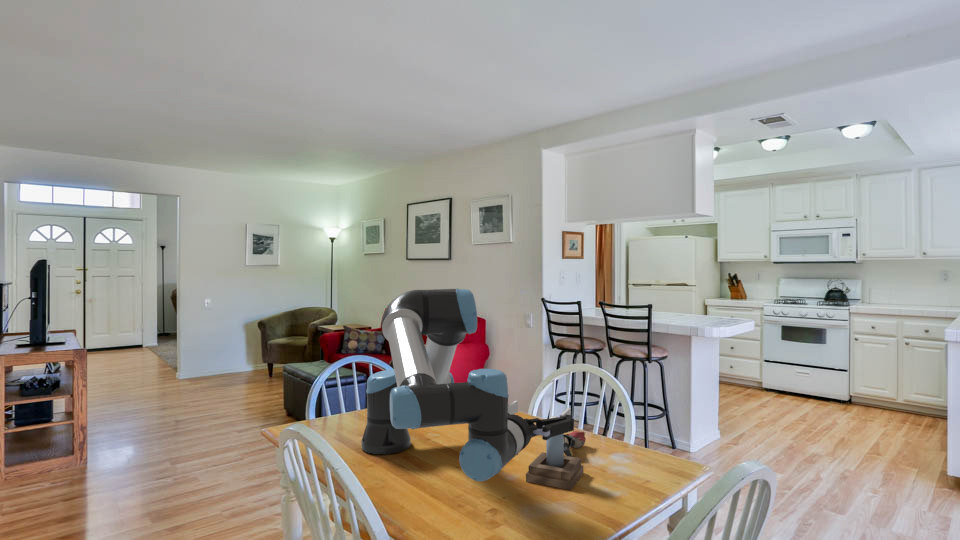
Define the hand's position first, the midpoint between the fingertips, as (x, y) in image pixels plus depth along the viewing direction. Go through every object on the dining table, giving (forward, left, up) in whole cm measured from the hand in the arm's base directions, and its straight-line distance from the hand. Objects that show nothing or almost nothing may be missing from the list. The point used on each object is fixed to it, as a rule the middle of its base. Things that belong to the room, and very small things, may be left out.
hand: (542, 409), depth 125 cm
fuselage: (-1, +11, -19) cm, 22 cm away
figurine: (-1, +30, -21) cm, 37 cm away
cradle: (-1, +11, -21) cm, 24 cm away
